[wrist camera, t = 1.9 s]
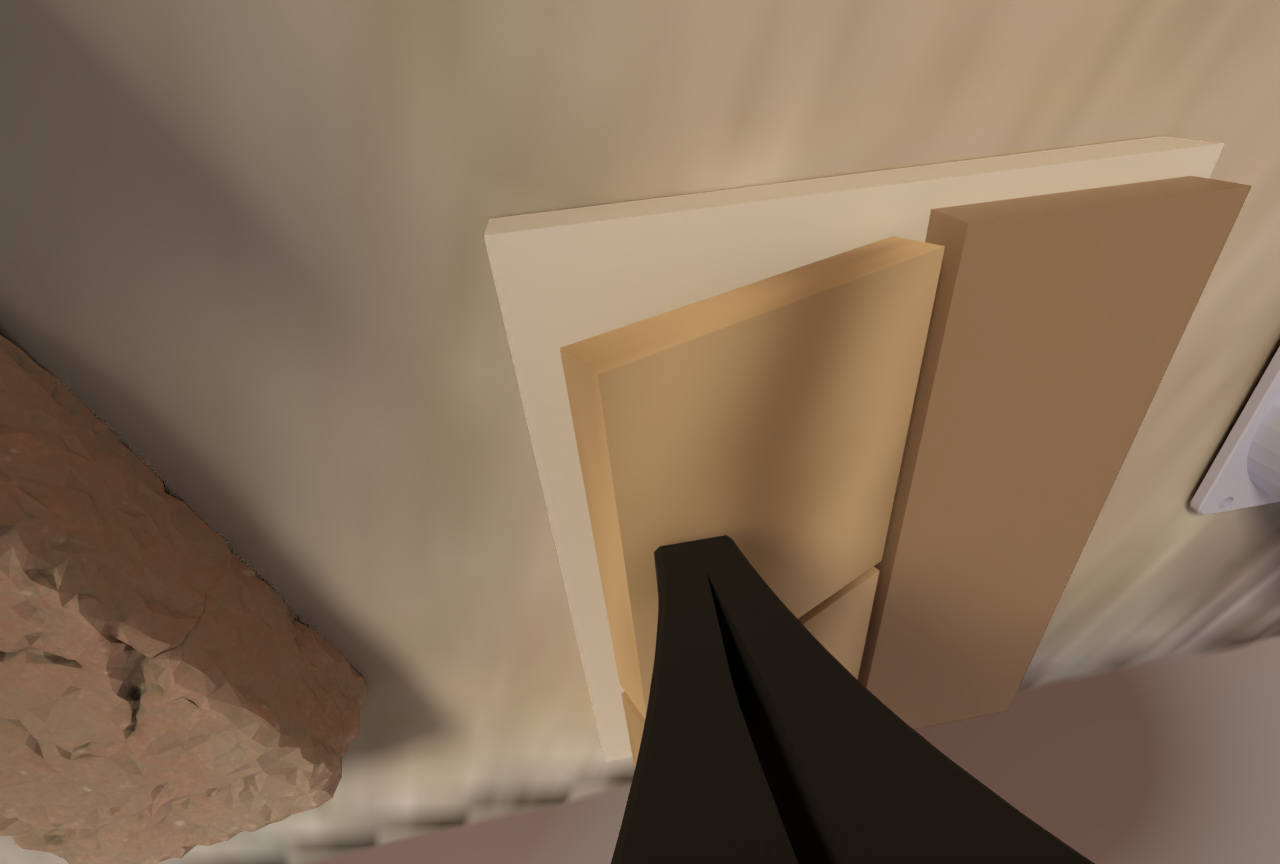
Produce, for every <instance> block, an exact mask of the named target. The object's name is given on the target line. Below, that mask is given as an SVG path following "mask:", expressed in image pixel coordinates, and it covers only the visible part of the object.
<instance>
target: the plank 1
mask: <svg viewBox="0 0 1280 864" xmlns="http://www.w3.org/2000/svg"><path fill="white" fill-rule="evenodd" d="M944 249H945V246H941V245H936V244H931V243H926V242H921V241H916V240H911V239H906V238H901V237H896V236H891V237H888V238H885V239H882V240H879V241H876V242H873V243H870V244H867V245H864V246H861V247H858V248H855V249H853V250H850V251H847V252H844V253H841V254H838V255H835V256H832V257H829V258H826V259H823V260H820V261H817V262H814V263H811V264H808V265H805V266H802V267H799V268H796V269H793V270H790V271H787V272H784V273H781V274H778V275H775V276H772V277H769V278H766V279H763V280H760V281H757V282H754V283H751V284H748V285H745V286H742V287H739V288H736V289H733V290H730V291H727V292H724V293H721V294H719V295H716V296H713V297H710V298H707V299H704V300H701V301H698V302H695V303H692V304H689V305H686V306H683V307H680V308H677V309H674V310H671V311H668V312H665V313H662V314H659V315H656V316H653V317H650V318H647V319H644V320H641V321H638V322H635V323H632V324H629V325H626V326H623V327H620V328H617V329H614V330H611V331H608V332H605V333H602V334H599V335H596V336H593V337H590V338H587V339H585V340H582V341H579V342H576V343H573V344H570V345H567V346H564V347H561V348H560V353H561V358H562V364H563V370H564V375H565V381H566V386H567V392H568V398H569V403H570V409H571V414H572V420H573V426H574V431H575V437H576V442H577V448H578V454H579V459H580V465H581V470H582V476H583V482H584V487H585V493H586V498H587V504H588V510H589V515H590V521H591V526H592V532H593V538H594V543H595V549H596V554H597V560H598V566H599V571H600V577H601V582H602V588H603V594H604V599H605V605H606V610H607V616H608V622H609V627H610V633H611V638H612V644H613V650H614V655H615V661H616V666H617V672H618V678H619V683H620V685H621V686H622V688H623V689H624V691H625V692H626V693H627V695H628V696H629V698H630V699H631V700H632V702H633V703H634V705H635V706H636V708H637V709H638V710H639V712H640V713H641V715H642V716H643V717H644V719H645V718H646V712H647V707H648V700H649V693H650V686H651V679H652V673H653V666H654V658H655V648H656V635H657V623H658V589H657V579H656V569H655V559H654V551H655V550H656V549H657V548H658V547H659V546H665V545H671V544H677V543H682V542H688V541H694V540H700V539H706V538H712V537H718V536H724V535H727V536H729V537H730V538H732V539H733V541H734V542H735V544H736V545H737V546H738V548H739V549H740V550H741V552H742V553H743V554H744V556H745V557H746V558H747V560H748V561H749V562H750V564H751V565H752V566H753V567H754V569H755V570H756V571H757V572H758V574H759V575H760V576H761V577H762V579H763V580H764V581H765V582H766V583H767V585H768V586H769V587H770V588H771V589H772V591H773V592H774V593H775V594H776V595H777V596H778V598H779V599H780V600H781V601H782V602H783V603H784V605H785V606H786V607H787V608H788V609H789V610H790V611H791V612H792V613H793V614H794V615H795V617H796V618H797V619H798V618H800V617H801V616H803V615H804V614H805V613H807V612H808V611H810V610H811V609H813V608H814V607H816V606H817V605H818V604H820V603H821V602H823V601H824V600H826V599H827V598H829V597H830V596H831V595H833V594H834V593H836V592H837V591H839V590H840V589H841V588H843V587H844V586H846V585H847V584H849V583H850V582H852V581H853V580H854V579H856V578H857V577H859V576H860V575H862V574H863V573H865V572H866V571H867V570H869V569H870V568H872V567H873V566H875V565H876V564H878V563H879V562H880V561H882V556H883V551H884V546H885V542H886V537H887V532H888V527H889V522H890V517H891V512H892V507H893V502H894V497H895V492H896V487H897V482H898V477H899V472H900V467H901V462H902V457H903V452H904V447H905V442H906V437H907V433H908V428H909V423H910V418H911V413H912V408H913V403H914V398H915V393H916V388H917V383H918V378H919V373H920V368H921V363H922V358H923V353H924V348H925V343H926V338H927V333H928V328H929V324H930V319H931V314H932V309H933V304H934V299H935V294H936V289H937V284H938V279H939V274H940V269H941V264H942V259H943V254H944Z"/></svg>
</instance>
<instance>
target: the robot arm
mask: <svg viewBox="0 0 1280 864" xmlns="http://www.w3.org/2000/svg"><path fill="white" fill-rule="evenodd" d="M1276 502H1280V346H1279V348H1278V349H1277V351H1276V353H1275V355H1274V356H1273V358H1272V360H1271V362H1270V363H1269V365H1268V367H1267V369H1266V370H1265V372H1264V374H1263V376H1262V377H1261V379H1260V381H1259V383H1258V384H1257V386H1256V388H1255V390H1254V391H1253V393H1252V395H1251V397H1250V398H1249V400H1248V402H1247V404H1246V405H1245V407H1244V409H1243V411H1242V412H1241V414H1240V416H1239V418H1238V419H1237V421H1236V423H1235V425H1234V426H1233V428H1232V430H1231V432H1230V433H1229V435H1228V437H1227V439H1226V440H1225V442H1224V444H1223V446H1222V447H1221V449H1220V451H1219V453H1218V454H1217V456H1216V458H1215V460H1214V461H1213V463H1212V465H1211V467H1210V468H1209V470H1208V472H1207V474H1206V476H1205V477H1204V479H1203V481H1202V483H1201V484H1200V486H1199V488H1198V490H1197V491H1196V493H1195V495H1194V497H1193V498H1192V500H1191V503H1190V506H1191V508H1192V509H1194V510H1195V511H1197V512H1198V513H1200V514H1201V515H1207V514H1213V513H1219V512H1225V511H1230V510H1236V509H1242V508H1247V507H1253V506H1259V505H1264V504H1270V503H1276ZM654 559H655V569H656V579H657V589H658V623H657V635H656V648H655V658H654V666H653V673H652V679H651V686H650V693H649V700H648V707H647V712H646V718H645V723H644V729H643V734H642V739H641V744H640V749H639V753H638V758H637V763H636V767H635V772H634V776H633V781H632V785H631V789H630V793H629V797H628V801H627V805H626V809H625V813H624V817H623V821H622V825H621V829H620V832H619V837H618V840H617V844H616V847H615V851H614V854H613V858H612V861H611V864H1095V863H1093V862H1092V861H1090V860H1089V859H1087V858H1086V857H1084V856H1083V855H1081V854H1080V853H1078V852H1077V851H1075V850H1074V849H1072V848H1071V847H1069V846H1068V845H1067V844H1065V843H1064V842H1062V841H1061V840H1060V839H1058V838H1057V837H1055V836H1054V835H1052V834H1051V833H1049V832H1048V831H1047V830H1045V829H1043V828H1042V827H1041V826H1039V825H1038V824H1036V823H1035V822H1034V821H1032V820H1031V819H1029V818H1028V817H1026V816H1025V815H1024V814H1022V813H1021V812H1019V811H1018V810H1017V809H1015V808H1014V807H1013V806H1011V805H1010V804H1009V803H1008V802H1006V801H1005V800H1004V799H1002V798H1001V797H1000V796H998V795H997V794H996V793H994V792H993V791H992V790H990V789H989V788H988V787H986V786H985V785H984V784H982V783H981V782H980V781H978V780H977V779H975V778H974V777H973V776H972V775H970V774H969V773H968V772H966V771H965V770H963V769H962V768H961V767H960V766H958V765H957V764H956V763H954V762H953V761H952V760H950V759H949V758H948V757H947V756H945V755H944V754H943V753H941V752H940V751H939V750H938V749H937V748H935V747H934V746H933V745H931V744H930V743H929V742H928V741H927V740H926V739H924V738H923V737H922V736H921V735H920V734H918V733H917V732H916V731H915V730H914V729H912V728H911V727H910V726H909V725H908V724H906V723H905V722H904V721H903V720H902V719H901V718H899V717H898V716H897V715H896V714H895V713H894V712H893V711H891V710H890V709H889V708H888V707H887V706H886V705H885V704H883V703H882V702H881V701H880V700H879V699H878V698H877V697H876V696H874V695H873V694H872V693H871V692H870V691H869V690H868V689H867V688H866V687H865V686H864V685H862V684H861V683H860V682H859V681H858V680H857V679H856V678H855V677H854V676H853V675H852V674H851V673H850V672H849V671H848V670H847V669H846V668H845V667H844V666H843V665H842V664H841V663H840V662H839V661H838V660H837V659H836V658H835V657H834V656H833V655H831V654H830V653H829V652H828V651H827V650H826V649H825V647H824V646H823V645H822V644H821V643H820V642H819V641H818V640H817V639H816V638H815V637H814V636H813V635H812V634H811V633H810V632H809V631H808V630H807V629H806V628H805V626H804V625H803V624H802V623H801V622H800V621H799V620H798V619H797V618H796V617H795V615H794V614H793V613H792V612H791V611H790V610H789V609H788V608H787V607H786V606H785V605H784V603H783V602H782V601H781V600H780V599H779V598H778V596H777V595H776V594H775V593H774V592H773V591H772V589H771V588H770V587H769V586H768V585H767V583H766V582H765V581H764V580H763V579H762V577H761V576H760V575H759V574H758V572H757V571H756V570H755V569H754V567H753V566H752V565H751V564H750V562H749V561H748V560H747V558H746V557H745V556H744V554H743V553H742V552H741V550H740V549H739V548H738V546H737V545H736V544H735V542H734V541H733V539H732V538H730V537H729V536H727V535H724V536H718V537H712V538H706V539H700V540H694V541H688V542H682V543H677V544H671V545H665V546H659V547H658V548H657V549H656V550H655V551H654Z"/></svg>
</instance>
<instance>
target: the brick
mask: <svg viewBox="0 0 1280 864" xmlns="http://www.w3.org/2000/svg"><path fill="white" fill-rule="evenodd" d="M294 619H295V615H294V614H293V613H292V612H291V611H290V610H289V608H288V607H287V605H286V604H285V603H284V601H283V600H282V599H281V597H280V596H279V595H278V593H277V592H276V591H275V590H274V589H273V588H272V587H271V586H270V584H268V583H267V582H265V581H263V580H261V579H259V578H258V576H257V574H256V573H255V571H253V570H252V569H250V568H249V567H247V566H246V565H245V564H243V563H242V562H241V561H239V560H238V558H237V557H236V556H235V555H234V554H233V553H232V552H231V551H230V549H229V548H228V546H227V544H226V542H225V541H224V539H223V538H222V537H221V536H220V535H219V534H217V533H216V532H215V531H214V530H213V529H211V528H210V527H209V526H208V525H206V524H205V523H204V522H203V521H202V520H201V519H200V518H199V517H198V516H197V515H196V514H195V513H194V512H193V511H192V510H191V509H190V508H189V507H188V506H187V505H186V504H185V503H184V502H183V501H180V500H178V499H176V498H174V497H172V496H170V495H168V494H166V493H165V489H164V485H163V481H162V480H161V479H160V478H159V477H158V476H157V475H156V474H155V473H154V472H153V471H152V470H151V469H150V468H149V467H148V466H147V465H146V464H145V463H144V462H143V461H142V460H141V459H140V458H139V457H138V456H137V455H136V454H135V453H133V452H132V451H131V450H130V449H129V448H128V447H126V446H125V445H124V444H123V443H122V442H120V440H119V439H118V438H117V437H116V436H115V434H114V433H113V432H112V431H111V430H110V429H109V428H108V427H107V426H106V425H105V424H104V423H103V422H102V421H101V420H100V419H99V418H97V417H96V416H95V415H94V414H93V413H92V412H91V411H90V410H89V409H88V408H87V407H86V406H85V405H84V404H83V403H82V402H81V401H80V400H79V399H78V398H77V397H76V396H75V395H74V394H73V393H72V392H71V391H70V390H69V389H68V388H67V387H66V386H65V385H64V384H63V383H62V382H61V381H60V380H58V379H57V378H56V377H55V376H53V375H52V374H50V373H49V372H47V371H46V370H44V369H43V368H41V367H40V366H38V365H37V364H36V363H35V362H34V361H33V360H32V359H31V358H30V357H29V356H28V355H27V354H26V353H25V352H24V351H23V350H22V349H20V348H19V347H17V346H16V345H14V344H13V343H12V342H10V341H9V340H7V339H6V338H4V337H3V336H1V335H0V835H5V836H13V839H14V842H15V844H17V845H18V846H20V847H21V848H23V849H29V850H37V851H44V852H50V853H52V854H55V855H57V856H59V857H62V858H64V859H65V860H66V861H67V862H68V863H69V864H156V863H159V862H162V861H164V860H167V859H170V858H173V857H176V858H182V857H183V856H184V855H185V854H186V853H187V852H188V851H190V850H191V849H192V848H193V847H194V846H196V845H205V846H209V845H212V844H215V843H218V842H221V841H228V840H229V839H231V838H232V837H233V836H235V835H236V834H238V833H239V832H242V831H251V832H253V831H256V830H258V829H260V828H262V827H264V826H266V825H268V824H271V823H274V822H278V821H281V820H284V819H285V818H287V817H288V816H290V815H291V814H295V813H299V812H303V811H306V810H309V809H313V808H316V807H318V806H320V805H322V804H323V803H325V802H326V801H328V800H330V799H331V798H332V797H333V795H334V793H335V790H336V788H337V786H338V784H339V782H340V779H341V777H342V757H343V756H344V755H345V754H346V752H347V750H348V745H349V744H350V743H351V742H352V741H353V740H355V739H356V738H357V737H358V731H359V721H360V708H361V706H362V704H363V702H364V700H365V698H366V696H367V691H368V686H367V684H366V683H365V682H364V678H363V677H362V676H361V675H359V674H358V673H357V672H356V671H355V670H354V669H353V668H352V667H351V666H350V664H349V661H348V660H347V658H346V657H345V656H344V655H343V654H342V653H340V652H339V651H338V650H337V649H336V648H335V647H334V646H332V645H331V644H330V643H329V642H328V641H327V640H326V639H325V638H324V637H322V636H321V635H320V634H319V633H317V632H316V631H315V630H313V629H312V628H310V627H308V626H305V625H304V624H302V623H300V622H297V621H295V620H294Z"/></svg>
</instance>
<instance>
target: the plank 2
mask: <svg viewBox="0 0 1280 864" xmlns="http://www.w3.org/2000/svg"><path fill="white" fill-rule="evenodd" d="M878 576H879V570H878V569H877V568H875V567H874V566H873V567H872V568H870V569H869V570H867V571H866V572H865V573H863V574H862V575H860V576H859V577H857V578H856V579H854V580H853V581H852V582H850V583H849V584H847V585H846V586H844V587H843V588H841V589H840V590H839V591H837V592H836V593H834V594H833V595H831V596H830V597H829V598H827V599H826V600H824V601H823V602H821V603H820V604H818V605H817V606H816V607H814V608H813V609H811V610H810V611H808V612H807V613H805V614H804V615H803V616H801V617H800V618H798V620H799V621H800V622H801V623H802V624H803V625H804V626H805V628H806V629H807V630H808V631H809V632H810V633H811V634H812V635H813V636H814V637H815V638H816V639H817V640H818V641H819V642H820V643H821V644H822V645H823V646H824V647H825V649H826V650H827V651H828V652H829V653H830V654H831V655H833V656H834V657H835V658H836V659H837V660H838V661H839V662H840V663H841V664H842V665H843V666H844V667H845V668H846V669H847V670H848V671H849V672H850V673H851V674H852V675H853V676H854V677H855V678H856V679H857V680H858V675H859V670H860V665H861V660H862V655H863V651H864V646H865V641H866V636H867V631H868V626H869V621H870V616H871V611H872V606H873V601H874V596H875V591H876V586H877V581H878ZM621 694H622V700H623V706H624V711H625V717H626V722H627V728H628V734H629V739H630V745H631V750H632V756H633V762H634V767H636V763H637V758H638V753H639V749H640V744H641V739H642V734H643V729H644V723H645V719H644V717H643V716H642V715H641V713H640V712H639V710H638V709H637V708H636V706H635V705H634V703H633V702H632V700H631V699H630V698H629V696H628V695H627V693H626V692H625V691H624V692H623V693H621Z"/></svg>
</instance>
